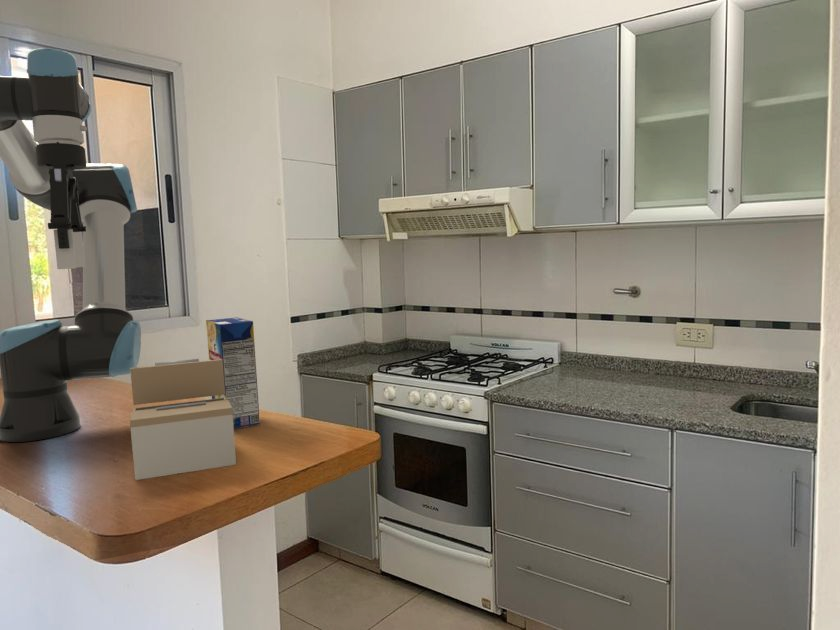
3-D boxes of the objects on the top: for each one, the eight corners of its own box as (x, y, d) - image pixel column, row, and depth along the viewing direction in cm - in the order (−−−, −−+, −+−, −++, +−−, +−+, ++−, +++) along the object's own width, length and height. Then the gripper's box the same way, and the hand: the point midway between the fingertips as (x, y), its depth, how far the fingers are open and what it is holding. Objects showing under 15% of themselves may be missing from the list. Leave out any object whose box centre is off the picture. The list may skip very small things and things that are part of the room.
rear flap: (133, 405, 117) (135, 396, 124) (225, 394, 123) (221, 386, 130) (130, 368, 116) (132, 361, 123) (222, 359, 122) (219, 353, 129)
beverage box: (227, 430, 133) (220, 324, 130) (213, 419, 142) (205, 320, 140) (260, 424, 136) (253, 321, 134) (243, 414, 146) (237, 317, 143)
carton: (138, 455, 118) (133, 400, 117) (228, 442, 124) (224, 390, 123) (135, 480, 105) (129, 418, 104) (236, 464, 111) (231, 406, 110)
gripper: (75, 132, 101) (88, 268, 103) (91, 155, 124) (101, 265, 126) (20, 131, 98) (34, 270, 101) (47, 154, 121) (58, 267, 124)
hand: (72, 268), depth 114 cm, fingers open, 13 cm apart
